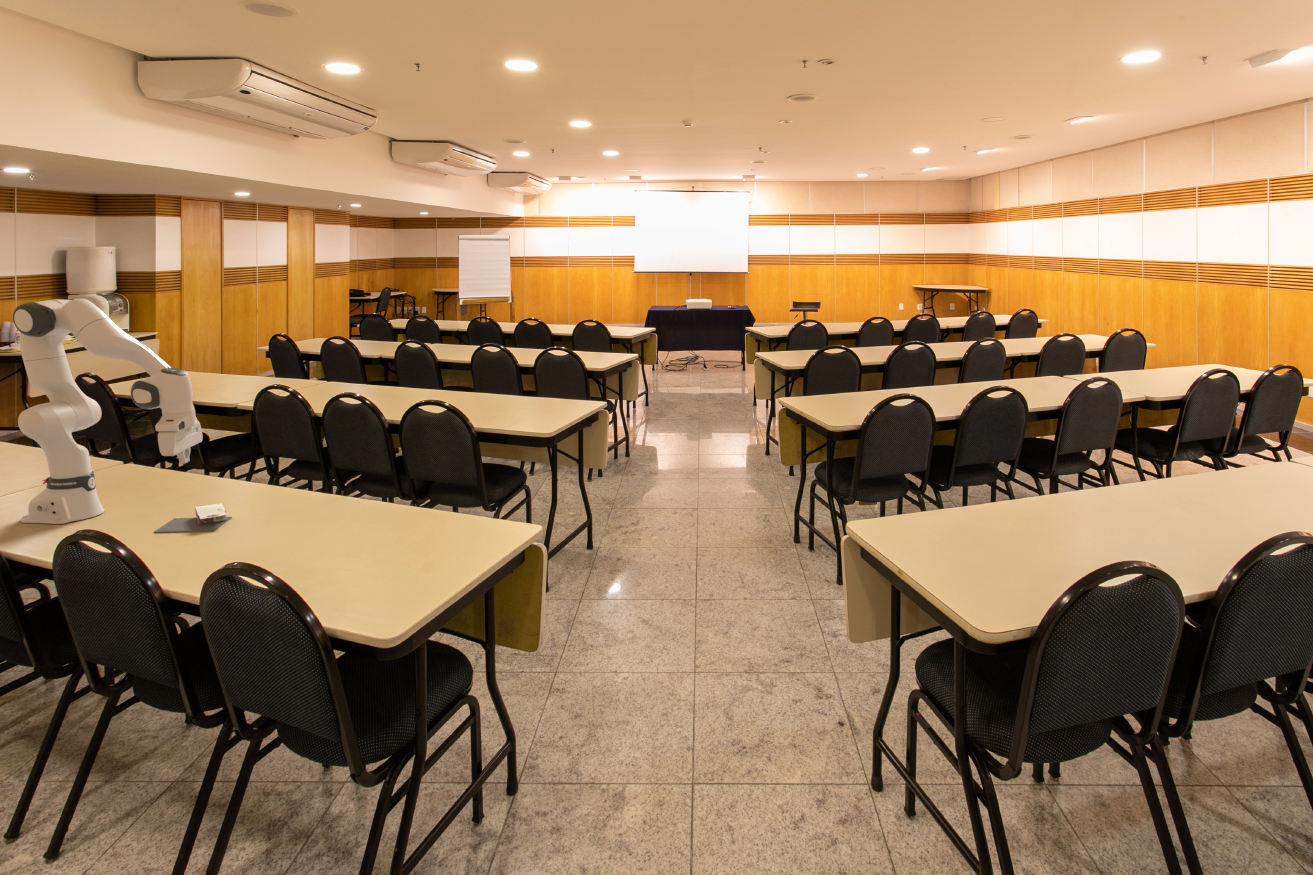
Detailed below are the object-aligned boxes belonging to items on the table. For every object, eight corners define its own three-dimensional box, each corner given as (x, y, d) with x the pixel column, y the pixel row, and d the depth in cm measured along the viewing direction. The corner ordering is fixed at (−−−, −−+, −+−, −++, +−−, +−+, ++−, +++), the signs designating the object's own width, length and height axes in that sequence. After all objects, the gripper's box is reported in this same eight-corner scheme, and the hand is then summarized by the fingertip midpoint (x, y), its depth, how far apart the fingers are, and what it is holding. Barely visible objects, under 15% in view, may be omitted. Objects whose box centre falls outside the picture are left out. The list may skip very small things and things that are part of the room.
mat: (153, 532, 240) (153, 531, 240) (174, 519, 253) (174, 518, 253) (214, 531, 242) (214, 529, 242) (231, 517, 255) (231, 516, 255)
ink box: (222, 512, 259) (228, 525, 247) (195, 516, 254) (200, 529, 243) (221, 502, 258) (227, 514, 246) (194, 506, 253) (198, 518, 242)
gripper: (185, 413, 249) (189, 454, 252) (151, 427, 230) (157, 471, 233) (205, 413, 250) (210, 454, 253) (174, 427, 230) (179, 471, 233)
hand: (184, 462), depth 243 cm, fingers closed
